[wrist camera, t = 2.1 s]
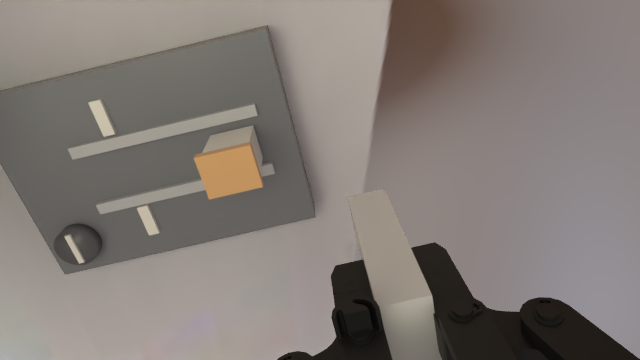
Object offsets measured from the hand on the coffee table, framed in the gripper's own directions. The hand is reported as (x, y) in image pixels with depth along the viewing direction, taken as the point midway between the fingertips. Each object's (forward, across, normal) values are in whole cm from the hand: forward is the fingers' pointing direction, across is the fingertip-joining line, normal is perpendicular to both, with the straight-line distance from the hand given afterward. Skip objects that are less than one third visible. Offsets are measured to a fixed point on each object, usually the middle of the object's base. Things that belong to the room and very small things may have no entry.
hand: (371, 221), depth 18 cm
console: (+16, -13, 0) cm, 21 cm away
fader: (+13, -7, 0) cm, 15 cm away
